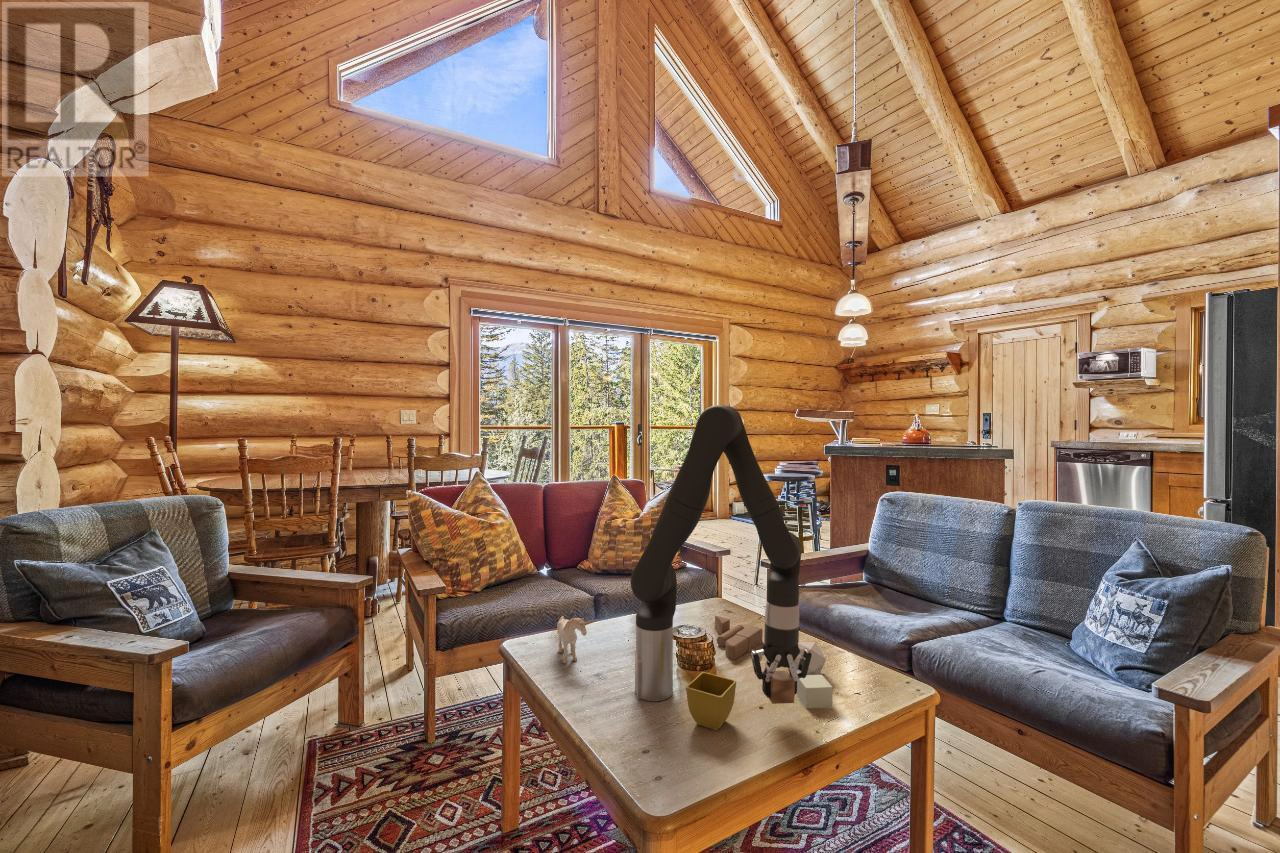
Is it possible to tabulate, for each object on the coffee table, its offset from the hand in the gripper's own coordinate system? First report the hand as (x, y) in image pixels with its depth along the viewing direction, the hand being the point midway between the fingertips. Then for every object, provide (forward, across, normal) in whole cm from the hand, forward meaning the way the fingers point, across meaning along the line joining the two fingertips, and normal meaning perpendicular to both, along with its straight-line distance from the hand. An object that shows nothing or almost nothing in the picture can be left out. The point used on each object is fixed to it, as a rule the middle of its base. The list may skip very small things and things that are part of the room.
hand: (779, 695), depth 128 cm
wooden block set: (+7, -1, +44) cm, 44 cm away
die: (+6, +16, +21) cm, 27 cm away
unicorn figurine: (+8, -45, +39) cm, 60 cm away
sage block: (+6, +12, +7) cm, 15 cm away
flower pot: (+6, -16, +1) cm, 17 cm away
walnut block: (+1, 0, 0) cm, 1 cm away
